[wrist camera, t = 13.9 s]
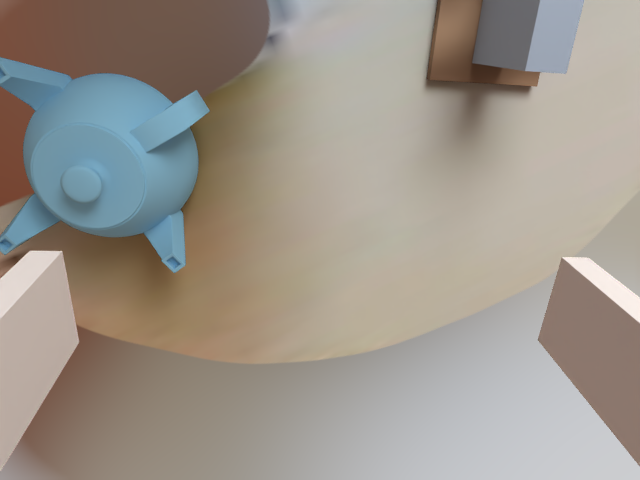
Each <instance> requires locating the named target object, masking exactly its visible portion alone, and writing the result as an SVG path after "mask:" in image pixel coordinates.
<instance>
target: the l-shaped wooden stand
mask: <svg viewBox="0 0 640 480" xmlns="http://www.w3.org/2000/svg"><path fill="white" fill-rule="evenodd" d="M482 2H483V0H438V2H437V9H436V16H435V23H434V31H433V38H432V45H431V52H430V59H429V66H428V73H427V79H428V80H439V81H456V82H473V83H490V84H506V85H523V86H537V84H538V79H539V75H540V72H532V71H521V70H515V69H508V68H502V67H495V66H488V65H482V64H475V63H472V60H473V54H474V49H475V43H476V37H477V31H478V25H479V20H480V14H481V8H482Z"/></svg>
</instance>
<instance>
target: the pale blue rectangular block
mask: <svg viewBox="0 0 640 480" xmlns="http://www.w3.org/2000/svg"><path fill="white" fill-rule="evenodd" d="M583 3H584V0H483V2H482V8H481V14H480V20H479V25H478V31H477V37H476V43H475V49H474V54H473V60H472V63H475V64H482V65H488V66H495V67H502V68H508V69H515V70H521V71H532V72H548V73H564V74H566V72H567V68H568V64H569V60H570V56H571V52H572V48H573V44H574V40H575V36H576V32H577V28H578V23H579V19H580V15H581V11H582V7H583Z"/></svg>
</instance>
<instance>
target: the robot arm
mask: <svg viewBox="0 0 640 480" xmlns="http://www.w3.org/2000/svg"><path fill="white" fill-rule="evenodd" d="M538 341H539V342H540V343H541V344H542V346H543V347H544V348H545V349H546V351H547V352H548V353H549V354H550V356H551V357H552V358H553V359H554V360H555V362H556V363H557V364H558V366H559V367H560V368H561V369H562V371H563V372H564V373H565V374H566V375H567V377H568V378H569V379H570V380H571V382H572V383H573V384H574V385H575V386H576V388H577V389H578V390H579V392H580V393H581V394H582V395H583V397H584V398H585V399H586V400H587V401H588V403H589V404H590V405H591V406H592V408H593V409H594V410H595V411H596V413H597V414H598V415H599V416H600V418H601V419H602V420H603V421H604V423H605V424H606V425H607V426H608V427H609V429H610V430H611V431H612V432H613V434H614V435H615V436H616V437H617V439H618V440H619V441H620V442H621V444H622V445H623V446H624V447H625V448H626V450H627V451H628V452H629V454H630V455H631V456H632V457H633V458H634V460H635V461H636V462H637V463H638V465H639V466H640V298H639V297H638V296H637V295H636V294H634V293H633V292H632V291H630V290H629V289H628V288H627V287H625V286H624V285H623V284H621V283H620V282H619V281H618V280H616V279H615V278H614V277H612V276H611V275H610V274H608V273H607V272H606V271H605V270H603V269H602V268H601V267H600V266H598V265H597V264H595V263H594V262H593V261H592V260H590V259H589V258H576V257H562V258H561V262H560V265H559V269H558V272H557V276H556V279H555V283H554V286H553V289H552V293H551V296H550V300H549V303H548V307H547V310H546V313H545V317H544V320H543V324H542V327H541V331H540V334H539V338H538ZM78 343H79V339H78V333H77V328H76V323H75V317H74V312H73V306H72V301H71V296H70V290H69V285H68V279H67V274H66V268H65V263H64V258H63V252H62V251H29V252H28V253H27V254H26V255H25V256H24V257H23V258H22V259H21V260H20V261H19V262H18V263H16V264H15V265H14V266H13V267H12V268H11V269H10V270H9V271H8V272H7V273H6V274H5V275H4V276H3V277H2V278H1V279H0V472H1V470H2V468H3V467H4V465H5V463H6V462H7V460H8V459H9V457H10V455H11V454H12V452H13V450H14V448H15V447H16V445H17V444H18V442H19V440H20V439H21V437H22V435H23V434H24V432H25V430H26V429H27V427H28V426H29V424H30V422H31V420H32V419H33V417H34V416H35V414H36V412H37V411H38V409H39V407H40V406H41V404H42V402H43V401H44V399H45V398H46V396H47V394H48V393H49V391H50V389H51V388H52V386H53V384H54V383H55V381H56V379H57V378H58V376H59V374H60V373H61V371H62V369H63V368H64V366H65V365H66V363H67V361H68V360H69V358H70V356H71V355H72V353H73V351H74V350H75V348H76V346H77V345H78Z"/></svg>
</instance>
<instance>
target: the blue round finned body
mask: <svg viewBox="0 0 640 480" xmlns="http://www.w3.org/2000/svg"><path fill="white" fill-rule="evenodd" d="M0 86H1V87H2V88H4V89H6V90H7V91H9V92H10V93H12V94H13V95H15V96H16V97H18V98H19V99H21V100H22V101H24V102H25V103H27V104H28V105H30V106H31V107H32V108H33V109H34V110H35V112H34V114H33V116H32V118H31V119H30V121H29V124H28V127H27V129H26V134H25V138H24V143H23V158H24V165H25V170H26V174H27V177H28V180H29V182H30V185H31V187H32V188H33V190H34V192H35V193H34V194H33V195H32V196H31V197H30V198H29V199H28V201H27V202H26V203H25V205H24V206H23V207H22V208H21V210H20V211H19V212H18V214H17V215H16V216H15V218H14V219H13V220H12V221H11V223H10V224H9V225H8V227H7V228H6V229H5V230H4V232H3V233H2V234H1V236H0V251H1V252H2V253H3V254H4V255H6V254H7V253H9V252H10V251H12V250H13V249H15V248H16V247H18V246H19V245H21V244H22V243H24V242H26V241H27V240H29V239H30V238H32V237H33V236H35V235H36V234H38V233H39V232H41V231H43V230H45V229H47V228H48V227H50V226H52V225H54V224H56V223H57V222H59V221H60V220H61V221H63V222H64V223H66V224H68V225H69V226H71V227H73V228H75V229H78V230H80V231H83V232H86V233H89V234H93V235H97V236H103V237H126V236H133V235H137V234H141V233H144V234H145V236H146V237H147V238H148V240H149V241H150V243H151V244H152V246H153V247H154V248H155V250H156V251H157V253H158V254H159V256H160V257H161V259H162V260H161V261H162V262H163V263H164V264H165V265H166V266H167V267H168V268H169V269H170V270H171V271H172V272H174V273H176V272H177V271H178V270H180V269H181V268H182V267H184V266H185V265H186V259H185V239H184V219H183V212H182V211H181V210H180V209H181V208H182V207H183V205H184V204H185V203H186V201H187V200H188V198H189V197H190V195H191V193H192V191H193V189H194V186H195V183H196V179H197V174H198V163H199V161H198V151H197V146H196V142H195V139H194V136H193V133H192V131H191V129H190V126H191V125H193V124H194V123H195V122H197V121H198V120H199V119H200V118H202V117H203V116H204V115H206V114H207V113H208V112H209V111H210V110H209V109H208V107H207V106H206V104H205V103H204V101H203V99H202V98H201V96H200V95H199V93H198V92H197V90H196V91H194V92H192V93H191V94H189V95H187V96H186V97H184V98H182V99H180V100H179V101H177V102H175V103H174V104H173V103H172V102H171V101H170V100H169V99H168V98H166V97H165V96H164V95H163V94H162V93H160V92H159V91H158V90H156V89H154V88H153V87H151V86H150V85H148V84H146V83H144V82H142V81H139V80H137V79H134V78H131V77H127V76H124V75H118V74H110V73H99V74H92V75H87V76H83V77H79V78H76V79H74V80H72V79H71V77H70V76H69V75H66V74H63V73H59V72H55V71H51V70H47V69H44V68H40V67H36V66H32V65H28V64H25V63H21V62H17V61H13V60H9V59H5V58H1V57H0Z"/></svg>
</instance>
